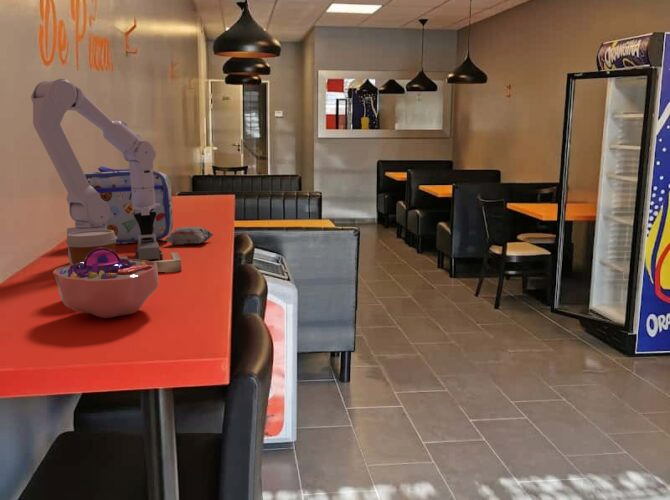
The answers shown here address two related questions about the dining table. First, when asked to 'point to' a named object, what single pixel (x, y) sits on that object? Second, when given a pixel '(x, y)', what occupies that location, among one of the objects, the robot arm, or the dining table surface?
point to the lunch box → (119, 198)
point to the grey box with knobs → (148, 249)
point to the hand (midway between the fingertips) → (147, 240)
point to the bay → (168, 263)
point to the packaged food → (189, 236)
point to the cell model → (106, 284)
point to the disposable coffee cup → (89, 243)
